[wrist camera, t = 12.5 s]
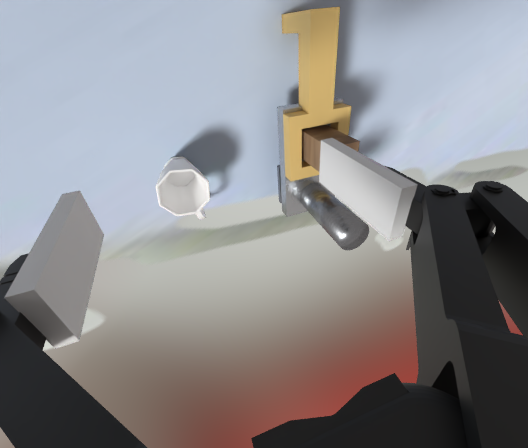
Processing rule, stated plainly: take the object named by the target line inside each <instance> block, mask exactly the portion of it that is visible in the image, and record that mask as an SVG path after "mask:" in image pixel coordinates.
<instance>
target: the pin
mask: <svg viewBox="0 0 528 448" xmlns="http://www.w3.org/2000/svg"><path fill="white" fill-rule="evenodd" d="M329 138H334V139H335V140H337V141H339V142H341V143H343V144H345V145H346V146H348V147H350V148H352V149H354V150H356V151H357V152H358V149H359V142H360V141H358V140H356V139H354V138H352V137H350V136H348V135H346V134H344V133H342V132H340V131H338V130H336V129H334V128H331V127H329V126H327V125H320V126H315V127H310V128H304V129H302V159H303V160H304V161H306V162H307V163H308V164H309V165H311V166H312V167H313V168H315V169H316V170H317V171H318V172H319V171H320V149H321V140H324V139H329Z"/></svg>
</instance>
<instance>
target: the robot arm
mask: <svg viewBox="0 0 528 448" xmlns="http://www.w3.org/2000/svg"><path fill="white" fill-rule="evenodd" d="M319 182H320V183H321V184H322V185H323V186H325V187H326V188H327V189H328V190H329V191H330V192H332V193H333V194H334V195H335V196H336V197H338V198H339V199H340V200H341V201H342V202H343V203H345V204H346V205H347V206H348V207H349V208H350V209H352V210H353V211H354V212H355V213H356V214H358V215H359V216H360V217H361V218H362V219H363V220H365V221H366V222H367V223H368V224H369V225H370V226H372V227H373V228H374V229H375V230H377V231H378V232H379V233H380V234H381V235H382V236H383V237H385V238H386V239H387V240H388V241H391V240H394V239H397V238H400V237H403V233H404V230H405V227H406V226H407V227H408V228H409V229H411V230H412V232H411V235H410V238H409V242H408V245H407V248H406V250H409V248H410V247H411V262H412V276H413V291H414V306H415V321H416V336H417V351H418V364H419V366H418V367H419V370H418V378H417V383H416V384H415V383H401V381H400V380H399V378H398V377H397V376H396V374H395V373H394V374H392V375H389V376H387V377H385V378H383V379H381V380H378V381H376V382H374V383H372V384H370V385H367V386H365V387H363V388H362V389H361V390H360V391H359V392H358V393H357V394H356V395H355V396H354V397H353V398H351V399H350V400H349V401H348V402H347V403H346V404H345V405H344V406H343V407H342V408H341V409H340V410H339V411H338V412H337V413H336V414H334V415H332V416H325V417H317V418H309V419H300V420H292V421H288V422H286V423H284V424H282V425H279V426H277V427H275V428H273V429H271V430H268V431H266V432H264V433H262V434H260V435H257V436H255V437H253V438H252V443H253V447H254V448H528V202H527V201H526V200H524V199H523V198H522V197H520V196H519V195H518V194H517V193H516V192H514V191H513V190H512V189H511V188H509V187H507V186H506V185H503V184H500V183H499V182H494V181H481V182H477V183H475V185H474V187H473V190H472V192H471V193H459V192H458V191H457V190H455V189H454V188H451V187H448V186H444V185H429V186H427V187H426V186H425V185H423V184H421V183H419V182H417V181H415V180H413V179H411V178H409V177H407V176H406V175H404V174H402V173H400V172H399V171H397V170H395V169H393V168H390V167H386V166H383V165H381V164H379V163H377V162H376V161H374V160H372V159H370V158H368V157H366V156H365V155H363V154H361V153H359V152H357V151H356V150H354V149H352V148H350V147H348V146H346V145H345V144H343V143H341V142H339V141H337V140H335V139H334V138H329V139H324V140H321V149H320V171H319ZM494 227H496V232H495V235H494V233H493V232H492V231H493V229H494ZM103 237H104V234H103V232H102V230H101V228H100V227H99V225H98V223H97V221H96V219H95V217H94V216H93V214H92V212H91V210H90V208H89V207H88V205H87V203H86V201H85V199H84V197H83V196H82V194H81V192H80V191H75V192H70V193H66V194H62V196H61V197H60V199H59V201H58V203H57V204H56V206H55V208H54V210H53V212H52V213H51V215H50V217H49V219H48V221H47V222H46V224H45V226H44V228H43V229H42V231H41V233H40V235H39V237H38V238H37V240H36V242H35V244H34V245H33V247H32V249H31V251H30V253H29V254H25V255H21V256H20V257H19V258H18V259H17V260H15V261H14V262H13V263H12V264H11V265H10V266H9V268H8V269H7V271H6V272H5V274H4V277H3V278H2V279H1V281H0V427H1V429H2V430H3V432H4V433H5V434H6V436H7V437H8V438H9V440H10V441H11V443H12V444H13V445H14V447H15V448H147V447H146V446H145V445H144V444H143V443H142V442H141V441H139V440H138V439H137V438H136V437H135V436H134V435H133V434H132V433H131V432H130V431H129V430H127V428H125V427H124V426H123V425H122V424H121V423H120V422H119V421H118V420H117V419H116V418H114V416H113V415H111V414H110V413H109V412H108V411H107V410H106V409H105V408H104V407H103V406H102V405H101V404H100V403H98V402H97V401H96V400H95V399H94V398H93V397H92V396H91V395H90V394H89V393H88V392H87V391H86V390H84V389H83V388H82V387H81V386H80V385H79V384H78V383H77V382H76V381H75V380H74V379H73V378H72V377H71V376H69V375H68V374H67V373H66V372H65V371H64V370H63V369H62V368H61V367H60V366H59V365H58V364H57V363H55V362H54V361H53V360H52V359H51V358H50V357H49V356H48V355H47V354H46V353H45V352H44V351H43V347H44V344H45V341H46V340H47V341H48V342H49V343H50V344H51V345H52V346H53V347H54V348H55V349H56V348H59V347H62V346H65V345H68V344H71V343H74V342H77V341H79V339H80V336H81V332H82V327H83V323H84V319H85V314H86V310H87V305H88V301H89V297H90V293H91V289H92V284H93V280H94V276H95V271H96V267H97V263H98V259H99V254H100V250H101V246H102V241H103ZM498 300H499V301H500V302H501V304H502V305H503V307H504V308H505V310H506V311H507V312H508V314H509V315H510V317H511V318H512V320H513V321H514V323H515V324H516V325H517V327H518V328H519V330H520V331H521V333H522V334H523V336H522V335H518V334H514V333H510V331H509V329H508V326H507V323H506V320H505V318H504V315H503V312H502V309H501V307H500V304H499V301H498Z"/></svg>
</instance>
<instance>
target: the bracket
mask: <svg viewBox="0 0 528 448" xmlns="http://www.w3.org/2000/svg"><path fill="white" fill-rule="evenodd" d="M339 15H340V7H331V8H320V9H310V10H304V11H298V12H293V13H287V14H282V34H283V33H299V105H300V106H302V111H297V112H291V113H285V114H283V127H284V154H285V176H286V177H287V178H288V179H289V180H290V181H295V180H299V179H304V178H308V177H312V176H316V175H319V172H318V171H317V170H316V169H315V168H313V167H312V166H311V165H309V164H308V163H307V162H306V161H302V129H304V128H310V127H315V126H320V125H325V124H330V123H331V126H330V127H331V128H334V129H336V130H338V131H340V132H342V133H344V134H346V135H348V133H349V124H350V114H351V106H350V105H347V104H344V103H341V104H336V105H333V103H334V89H335V74H336V59H337V44H338V29H339Z"/></svg>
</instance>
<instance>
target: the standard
mask: <svg viewBox="0 0 528 448" xmlns="http://www.w3.org/2000/svg"><path fill="white" fill-rule="evenodd" d="M341 103H343V99H341V98H338V97H334V103H333V105H336V104H341ZM297 111H302V106H300V105H299V103H297V104H291V105H285V106H279V107H277V112H278V133H279V154H280V166H277V171H278V190H279V201H280V203H282V211H283V213H284V214H285V215H286V216H287V217H288V216H292V215H295V214H299V213H303V212H306V211H308V212H309V213H310V214H311V215H312V216H313V217H314V218H315V220H316V221H317V222H318V223H319V224H320V225H321V226H322V227H323V228H324V229H325V230H326V232H327V233H328V234H329V235H330V236H331V237H332V238H333V239H334V240H335V241H336V243H337V244H338V245H339V246H340V247H341V248H342V249H344V250H352V249H355V248H357V247H358V246H360V245H361V244H362V243H363V242H364V241H365V240H366V238H367V236H368V233H369V227H368V225H367V224H366V223H364V222H363V221H362V220H361V219H360V218H359V217H357V216H356V215H355V214H354V213H353V212H352V211H350V210H349V209H348V208H347V207H346V206H345V205H344V204H342V203H341V202H340V201H339V200H338V199H337V198H335V195H334V194H333V193H332V192H330V191H329V190H328V189H327V188H326V187H325V186H323V185H322V184H321V183H320V182H319V175H316V176H312V177H308V178H304V179H299V180H295V181H290V180H289V179H288V178H287V177H286V176H285V154H284V127H283V114H285V113H291V112H297ZM325 125H327V126H329V127H330V126H331V123H330V124H325ZM302 161H304V160H303V159H302Z"/></svg>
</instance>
